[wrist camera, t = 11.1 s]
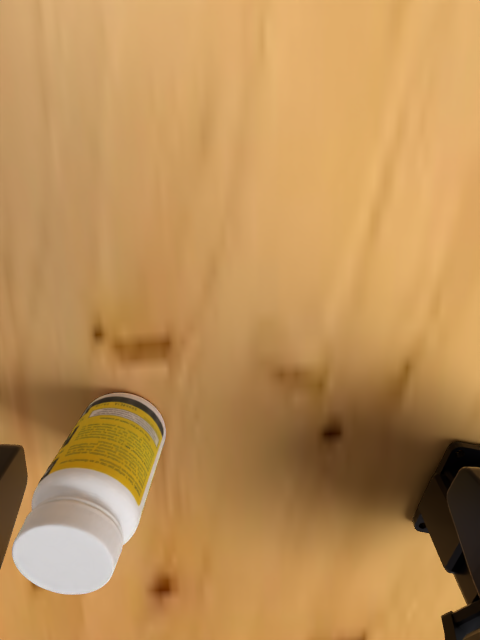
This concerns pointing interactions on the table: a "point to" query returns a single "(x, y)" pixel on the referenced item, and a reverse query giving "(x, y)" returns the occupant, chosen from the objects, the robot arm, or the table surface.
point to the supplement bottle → (91, 496)
